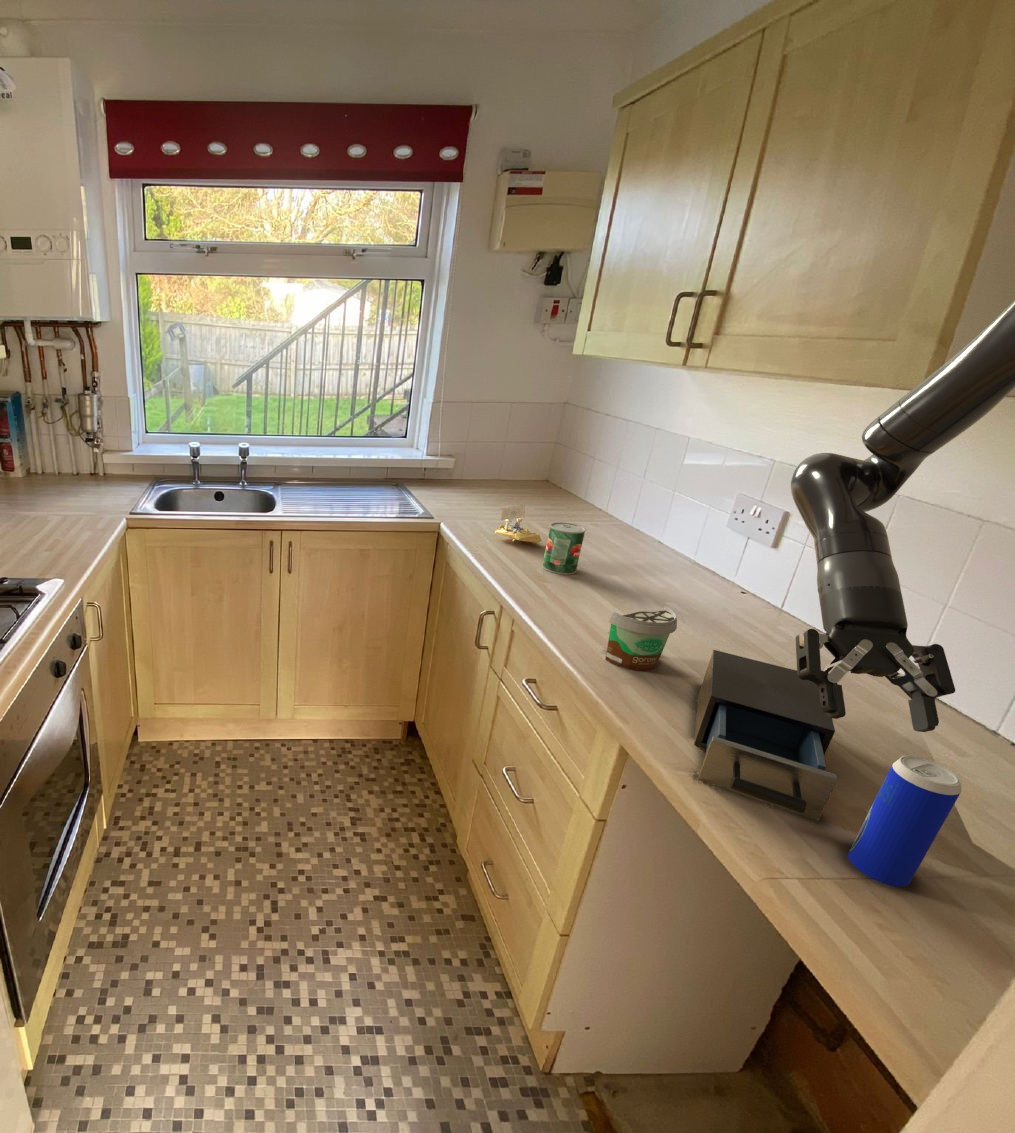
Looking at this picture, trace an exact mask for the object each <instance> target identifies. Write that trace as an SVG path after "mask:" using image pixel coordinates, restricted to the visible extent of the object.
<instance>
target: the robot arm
mask: <svg viewBox="0 0 1015 1133" xmlns="http://www.w3.org/2000/svg"><path fill="white" fill-rule="evenodd" d="M1014 389H1015V299H1014V300H1013V301H1012V302H1011V303H1010V304H1009V305H1007V307H1006V308H1005V309H1004V310H1003V311H1002V312H1001V313H1000V314H999V315H998V316H996V318H994V320H993V321H991V322H990V323H989V324H988V325H987V326H986V327H985V328H984V329H982V331H981V332H980V333H978V335H976V336H975V337H974V338H973V339H972V340H971V341H969V343H967V344H966V345H965V346H964V347H963V348H962V349H960V350H959V351H958V352H957V353H955V355H954V356H952V357H951V358H950V359H948V361H946V362H945V363H944V364H942V365H941V366H940V367H938V368H937V369H936V370H934V371H933V372H932V373H931V374H930V375H929V376H927V377H926V378H925V379H924V380H922V381H921V382H920V383H919V384H917V385H916V386H915V387H913V388H912V389H911V390H909V391H908V392H907V393H906V394H904V396H902V397H901V398H900V399H898V400H897V401H896V402H895V403H894V404H892V405H891V406H890V407H889V408H887V409H886V410H885V411H884V412H882V413H881V414H880V415H879V416H877V417H876V418H874V420H872V421H871V422H870V423H869V424H868V426H866V427H865V428H864V430H863V432H862V434H861V441H862V443H863V446H864V447H865V449H867V450H868V452H870V453H871V455H870V456H869V457H868V458H865V459H859V458H855V457H850V456H847V455H842V454H838V453H833V452H820V453H815V454H812V455H810V456H808V457H806V458H804V459H803V460H802V461H801V462H800V463H799V464H798V465H797V466H796V468H795V470H794V471H793V473H792V477H791V480H790V491H791V496H792V499H793V502H794V504H795V506H796V509H797V511H798V512H799V515H800V517H801V518H802V520H803V522H804V524H805V526H806V528H807V530H808V532H809V533H810V535H811V536H812V538H813V545H814V553H815V559H816V567H817V572H816V573H817V574H816V585H817V593H818V599H819V607H820V613H821V620H822V627H823V628H822V629H823V630H824V632H825V633H819V631H818V630H817V629H815V628H808V629H806V630H805V631H803V632H801V633H799V634H797V635H795V656H796V671H797V675H798V677H799V678H800V679H802V680H809V681H811V682H814V683H815V684H816V685H817V686H818V688H819V696H820V703H821V708H822V710H823V712H826V714H827V717H828V718H832V719H834V720H837V719H841V718H845V716H846V714H847V711H846V705H845V699H844V698H845V697H844V691H843V690H844V689H843V685H842V684H838V683H839V682H840V681H842V679H843V678H844V677H845V676H846V674H847V673H849V672H850V674H855V675H865V674H866V675H870V676H872V677H875V678H883V677H885V678H886V679H887V680H888V681H889V682H890V684H892V685H894V686H897V687H899V688H900V689H901V690H902V692H904V694H906V695H907V697H909V700H907V703H908V707H909V713H910V719H911V724H912V728H913V730H914V731H915V732H919V733H920V732H921V733H927V732H931V731H935V729H936V727H938V726H939V723H940V720H939V715H938V710H937V704H936V699H937V698H940V697H944V696H948V695H952V694H955V693H956V687H955V683H954V680H953V677H952V673H951V670H950V667H949V666H950V665H949V663H948V660H947V656H946V652H945V648H944V647H943V646H942V645H941V644H938V643H933V644H929V645H915V644H912V643H911V642H910V641H909V639H908V637H907V632H908V625H909V624H908V620H907V614H906V609H905V603H904V598H903V593H902V589H901V582H900V578H899V573H898V572H897V569H896V566H895V564H894V561H893V556H892V551H891V545H890V542H889V541H890V540H889V536H888V531H887V529H886V526H885V525H884V523H883V522H882V521H880V519H878V518H876V517H875V516H873V515H872V514H869V513H867V512H870V511H874V510H875V509H878V508H880V507H882V506H883V505H884V504H886V503H888V502H889V501H890V500H891V499H892V498H893V497H895V495H896V494H897V493H898V491H899V490H900V489H901V488H902V487H903V486H904V484H905V483H906V482H907V481H908V480H909V479H910V477H911V476H913V474H914V473H915V472H916V470H917V469H918V468H919V467H920V466H921V464H922V463H923V462H924V461H925V459H927V458H928V457H929V456H931V455H933V454H934V453H936V452H937V451H939V450H940V449H941V448H943V447H944V446H945V445H947V444H948V443H950V442H952V441H953V440H954V439H956V438H957V437H958V436H960V435H961V434H962V433H964V432H965V431H966V430H968V429H970V428H971V427H973V425H975V424H976V423H978V422H980V420H981V419H983V418H984V417H985V416H986V415H988V413H990V412H991V411H992V410H993V409H994V408H996V407H997V406H998V405H999V404H1000V403H1001V402H1002V401H1003V400H1004V399H1005V398H1006V397H1007V396H1008V395H1009V394H1011V393H1012V391H1014ZM823 647H824V648H825V649H826V650H827V651H828V652H829V653H830V654H831V655H832V659H831V660H829V662H828V663H827V664H826V665H825V667H824V668H823V670H822V664H821V663H822V661H821V649H822V648H823ZM911 657H912V658H913V661H912V660H911V659H910V658H911ZM916 664H918V666H917V665H916ZM900 670H902V671H903V673H900V672H899V671H900Z"/></svg>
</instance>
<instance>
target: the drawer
mask: <svg viewBox="0 0 1015 1133" xmlns="http://www.w3.org/2000/svg"><path fill="white" fill-rule="evenodd" d="M705 751H706V752H705V756H704V758H703V762H702V764H701V767H700V770H699V773H698V776H697V779H698V780H700V781H703V782H705V783H708V784H711V785H714V786H717V787H720V788H722V789H724V790H725V789H726V790H728V791H731V792H733V793H737V794H740V795H742V796H745V797H748V798H751V799H754V800H758V801H760V802H762V803H766V804H768V805H771V806H773V807H777V808H780V809H784V810H786V811H789V812H792V813H793V814H794V813H795V814H797V815H801V816H803V817H805V818H809V819H812V820H814V821H817V822H819V820H820V818H821V816H822V814H823V812H824V809H825V807H826V805H827V804H828V801H829V798H830V797H831V794H832V792H833V790H834V788H835V785H836V783H837V782H838V776H837V774H836V773H833V772H830V771H826V770H827V764H826V760H825V759H826V758H825V755H824V754H823V749H822V745H821V740H820V735H819V732H818V731H815V730H811V729H808V728H804V727H801V726H797V725H794V724H790V723H787V722H783V721H780V720H776V719H773V718H769V717H766V716H762V715H759V714H756V713H752V712H749V711H745V710H742V709H738V708H735V707H731V706H728V705H724V704H721V703H717V702H716V704H715V706H714V709H713V712H712V715H711V718H710V721H709V724H708V733H707V749H706V750H705Z"/></svg>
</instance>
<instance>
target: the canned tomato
mask: <svg viewBox="0 0 1015 1133" xmlns="http://www.w3.org/2000/svg"><path fill="white" fill-rule="evenodd" d="M549 527H550V528H549V532H548V536H547V541H546V546H545V550H544V555H543V561H542V564H541V566H542V568H543V569H544V570H546V571H547V572H550V573H552V574H558V575H573V574H575V573H576V572H577V568H578V565H579V560H580V556H581V550H582V547H583V541H584V538H585V533H586V528H585V527H583V526H582V525H579V524H576V523H572V522H563V521H562V522H561V521H558V522H557V521H556V522H552V523H550V525H549Z"/></svg>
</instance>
